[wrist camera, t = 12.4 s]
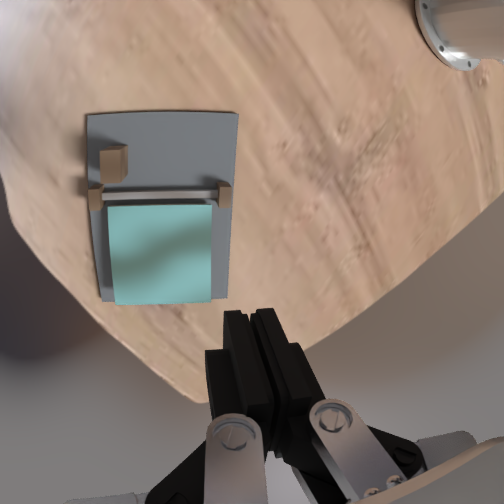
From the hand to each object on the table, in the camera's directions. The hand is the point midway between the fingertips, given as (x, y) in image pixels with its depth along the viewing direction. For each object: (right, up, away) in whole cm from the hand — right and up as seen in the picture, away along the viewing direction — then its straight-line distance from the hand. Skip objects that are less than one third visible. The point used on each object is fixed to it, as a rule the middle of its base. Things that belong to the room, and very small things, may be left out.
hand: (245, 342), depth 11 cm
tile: (-8, +3, +16) cm, 18 cm away
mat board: (-8, +7, +17) cm, 20 cm away
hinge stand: (-8, +10, +15) cm, 20 cm away
